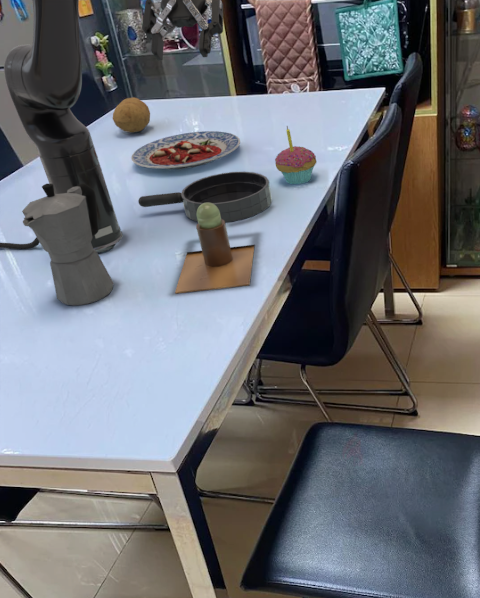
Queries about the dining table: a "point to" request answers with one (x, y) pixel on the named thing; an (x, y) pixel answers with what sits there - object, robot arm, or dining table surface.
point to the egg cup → (213, 236)
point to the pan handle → (160, 199)
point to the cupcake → (295, 163)
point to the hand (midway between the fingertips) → (180, 56)
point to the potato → (131, 115)
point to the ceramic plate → (185, 150)
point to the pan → (229, 195)
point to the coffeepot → (70, 243)
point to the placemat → (216, 271)
